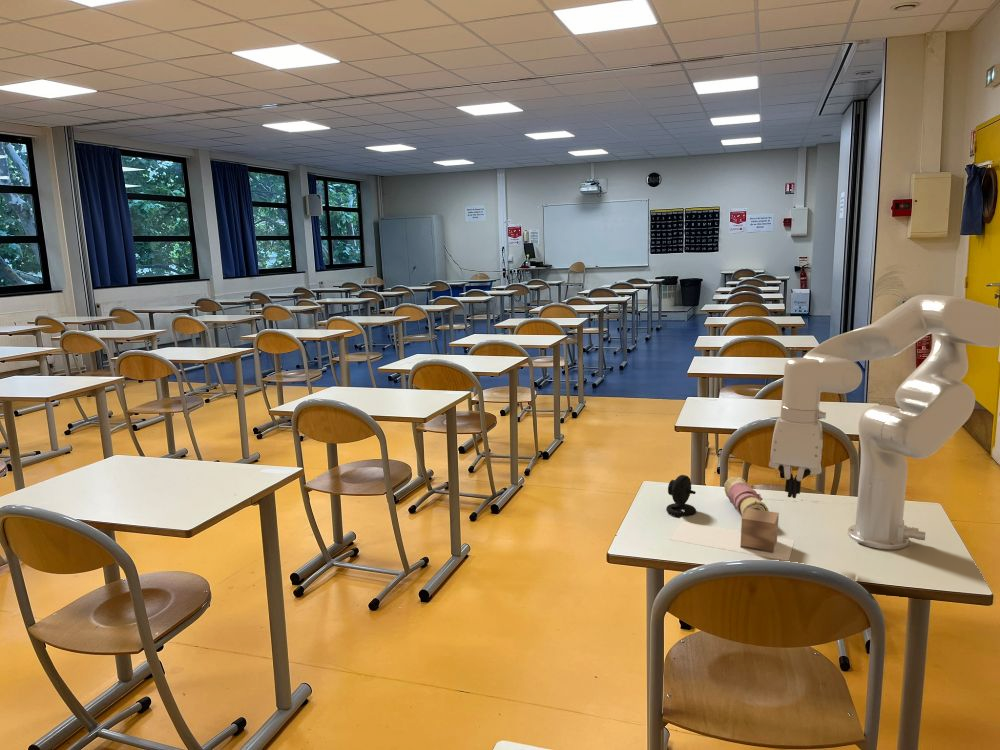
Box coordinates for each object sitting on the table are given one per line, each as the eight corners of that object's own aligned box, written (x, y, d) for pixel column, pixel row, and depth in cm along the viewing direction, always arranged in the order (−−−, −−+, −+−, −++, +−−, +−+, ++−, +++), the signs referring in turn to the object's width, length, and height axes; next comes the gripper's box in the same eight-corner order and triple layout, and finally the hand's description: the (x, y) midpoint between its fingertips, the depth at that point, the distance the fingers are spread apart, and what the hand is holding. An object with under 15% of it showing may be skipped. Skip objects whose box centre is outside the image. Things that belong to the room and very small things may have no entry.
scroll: (778, 523, 171) (757, 494, 190) (766, 496, 170) (746, 470, 190) (748, 535, 172) (730, 505, 192) (736, 508, 171) (719, 481, 191)
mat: (794, 541, 164) (794, 540, 164) (788, 562, 153) (788, 560, 153) (682, 522, 176) (682, 521, 176) (669, 540, 165) (669, 539, 165)
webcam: (674, 504, 188) (675, 468, 186) (701, 511, 183) (702, 474, 181) (660, 513, 182) (661, 476, 180) (687, 520, 177) (688, 482, 176)
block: (777, 541, 163) (778, 512, 162) (773, 553, 157) (774, 523, 156) (745, 536, 166) (746, 508, 165) (740, 547, 160) (741, 518, 159)
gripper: (838, 415, 152) (830, 496, 156) (765, 407, 159) (759, 485, 163) (836, 422, 146) (828, 507, 149) (760, 414, 153) (754, 495, 156)
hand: (792, 495), depth 156 cm, fingers closed
